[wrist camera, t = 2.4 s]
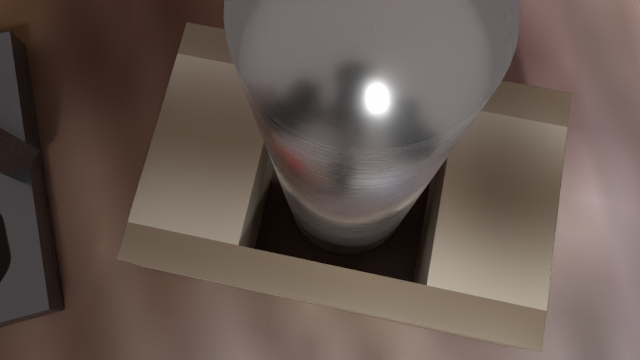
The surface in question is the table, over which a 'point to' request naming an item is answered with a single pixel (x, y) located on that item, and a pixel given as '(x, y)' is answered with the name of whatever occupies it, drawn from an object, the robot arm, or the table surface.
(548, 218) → the block with rectangular hole
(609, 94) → the table surface
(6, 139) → the V-block
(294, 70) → the axle
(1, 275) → the robot arm
